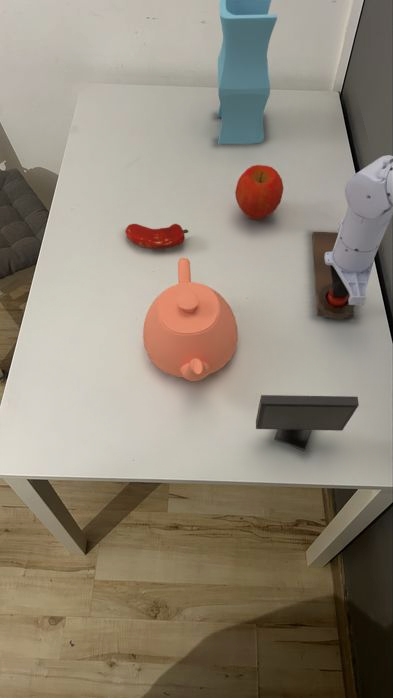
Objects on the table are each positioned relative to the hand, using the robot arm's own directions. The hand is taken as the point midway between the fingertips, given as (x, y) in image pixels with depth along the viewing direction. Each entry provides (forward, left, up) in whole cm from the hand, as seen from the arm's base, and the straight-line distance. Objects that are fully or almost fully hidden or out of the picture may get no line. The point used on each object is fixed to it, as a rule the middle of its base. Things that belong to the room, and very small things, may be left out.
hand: (339, 293), depth 82 cm
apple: (+19, -15, -4) cm, 25 cm away
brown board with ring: (+2, -7, -4) cm, 8 cm away
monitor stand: (-1, +25, -4) cm, 25 cm away
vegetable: (+34, -2, -4) cm, 35 cm away
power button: (0, 0, -2) cm, 2 cm away
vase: (+31, -38, -4) cm, 49 cm away
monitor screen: (-1, +25, +1) cm, 25 cm away
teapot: (+19, +16, -4) cm, 26 cm away
